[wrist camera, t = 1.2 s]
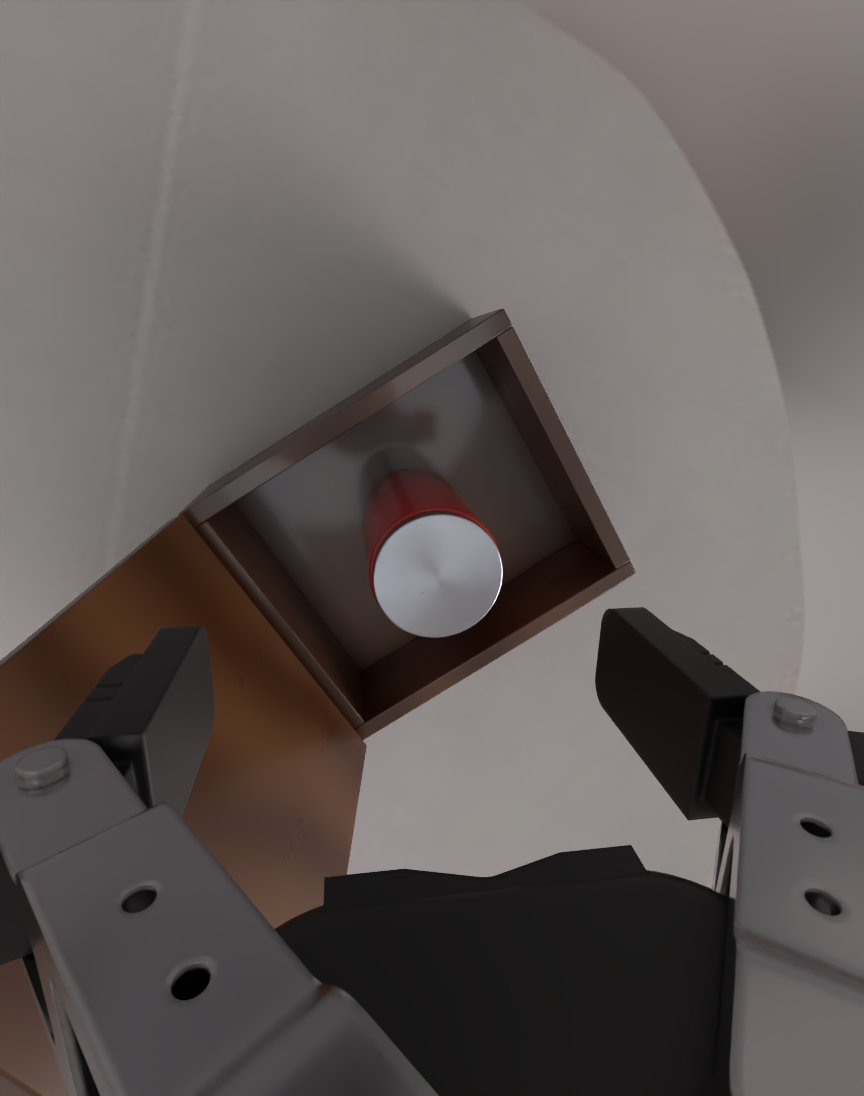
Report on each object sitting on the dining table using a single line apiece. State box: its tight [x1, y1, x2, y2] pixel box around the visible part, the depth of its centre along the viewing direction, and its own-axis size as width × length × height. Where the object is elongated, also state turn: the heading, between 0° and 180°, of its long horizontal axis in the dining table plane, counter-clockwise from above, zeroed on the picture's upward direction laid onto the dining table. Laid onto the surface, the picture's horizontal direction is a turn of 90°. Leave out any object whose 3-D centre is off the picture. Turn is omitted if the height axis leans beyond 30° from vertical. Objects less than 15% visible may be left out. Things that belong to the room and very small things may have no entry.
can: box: [362, 469, 503, 638], centre depth 27 cm, size 5×5×9 cm
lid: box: [0, 514, 366, 1096], centre depth 19 cm, size 16×14×5 cm
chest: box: [179, 309, 636, 740], centre depth 29 cm, size 16×14×6 cm
